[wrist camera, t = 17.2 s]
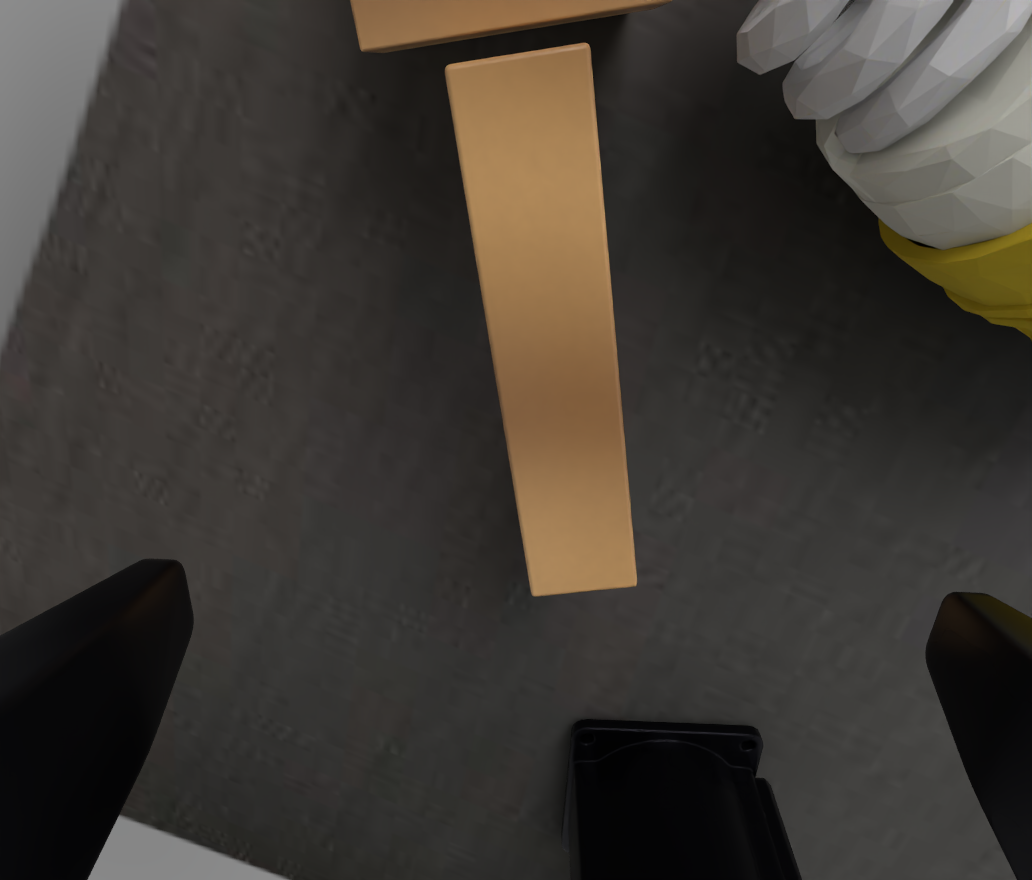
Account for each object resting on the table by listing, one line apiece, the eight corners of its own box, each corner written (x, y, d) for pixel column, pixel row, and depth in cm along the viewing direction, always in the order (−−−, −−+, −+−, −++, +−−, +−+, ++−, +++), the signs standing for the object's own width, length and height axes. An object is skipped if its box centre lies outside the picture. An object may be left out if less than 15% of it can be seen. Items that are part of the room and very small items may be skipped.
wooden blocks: (362, -177, 15) (255, -326, 9) (620, -226, 15) (678, -414, 9) (479, 457, 22) (460, 605, 16) (662, 436, 21) (712, 580, 15)
